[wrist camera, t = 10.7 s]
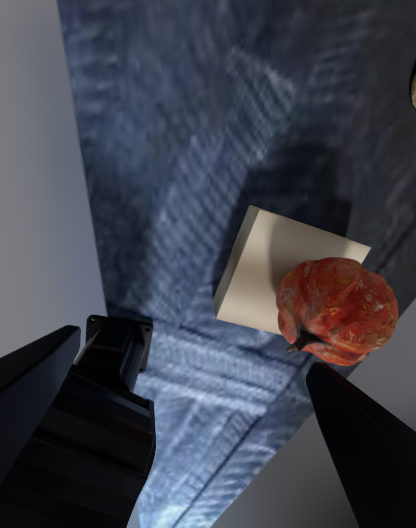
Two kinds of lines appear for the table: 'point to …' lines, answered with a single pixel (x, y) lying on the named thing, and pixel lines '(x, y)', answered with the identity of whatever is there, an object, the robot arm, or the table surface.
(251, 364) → the table surface
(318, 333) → the red oval lump
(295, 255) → the pale wooden block
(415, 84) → the sprinkles bottle
